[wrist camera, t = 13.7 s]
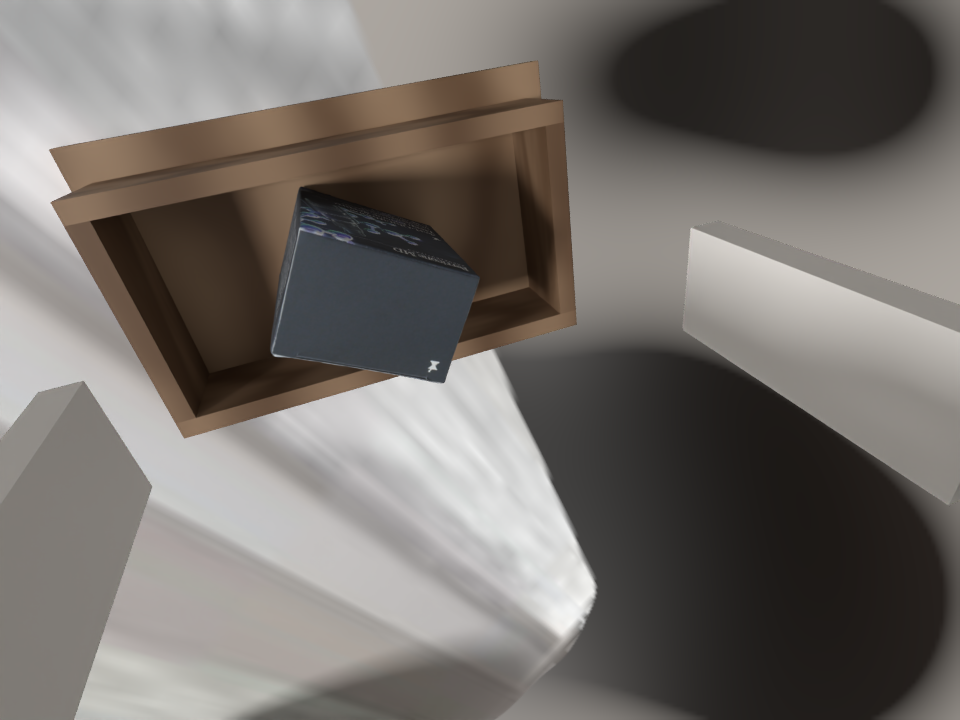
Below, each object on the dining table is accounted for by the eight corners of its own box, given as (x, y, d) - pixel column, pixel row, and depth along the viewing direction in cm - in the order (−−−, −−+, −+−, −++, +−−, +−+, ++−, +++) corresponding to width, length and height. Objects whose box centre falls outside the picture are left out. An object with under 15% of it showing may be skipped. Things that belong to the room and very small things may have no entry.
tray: (196, 410, 33) (179, 468, 28) (57, 147, 25) (-4, 162, 20) (552, 310, 38) (592, 344, 33) (531, 61, 30) (579, 56, 25)
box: (431, 223, 31) (485, 277, 22) (405, 308, 33) (445, 389, 24) (297, 181, 28) (297, 226, 19) (276, 278, 30) (268, 360, 21)
